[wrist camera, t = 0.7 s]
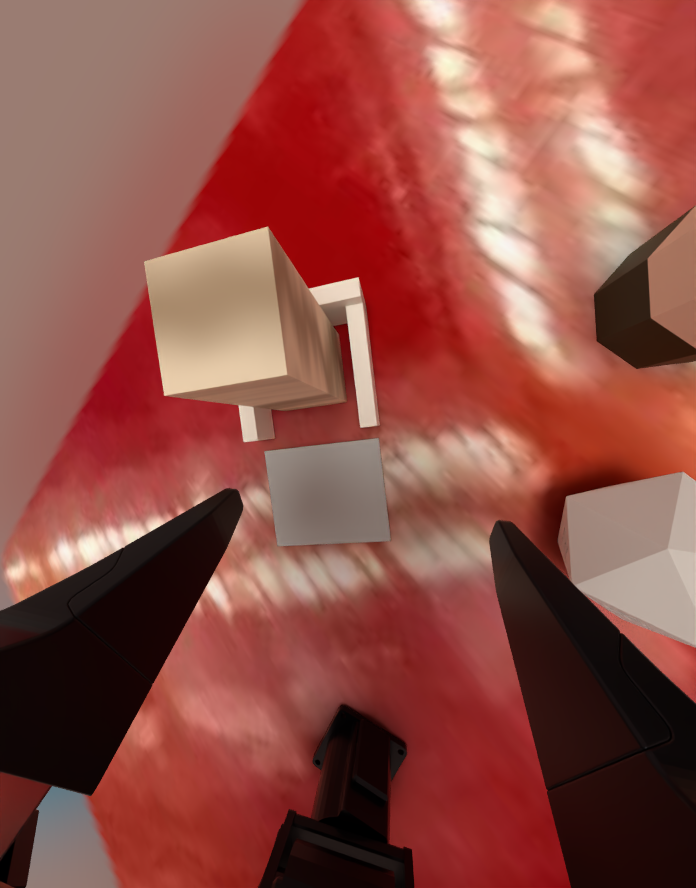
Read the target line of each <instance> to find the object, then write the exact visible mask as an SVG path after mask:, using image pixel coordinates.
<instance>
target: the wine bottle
mask: <svg viewBox="0 0 696 888" xmlns="http://www.w3.org/2000/svg"><path fill="white" fill-rule="evenodd" d="M594 300H595V316H596V332H597V341H598V342H599V343H601V344H602V345H604V346H605V347H606V348H608V349H609V350H611V351H612V352H614V353H615V354H616V355H618V356H619V357H621V358H622V359H624V360H625V361H626V362H628V363H629V364H631V365H632V366H634V367H635V368H645V367H653V366H661V365H669V364H677V363H685V362H693V361H696V206H694V207H693V208H692V209H690V210H689V211H688V212H686V213H685V214H684V215H682V216H681V217H680V218H678V219H677V220H676V221H674V222H673V223H671V224H670V225H669V226H667V227H666V228H665V229H663V230H662V231H661V232H659V233H658V234H657V235H655V236H654V237H653V238H651V239H650V240H648V241H647V242H646V243H644V244H643V245H642V246H640V247H639V248H638V249H636V250H635V251H634V252H632V253H631V254H630V255H629V256H628V257H627V258H626V259H625V260H624V262H623V263H622V264H621V265H620V266H619V267H618V268H617V269H616V271H615V272H614V273H613V274H612V275H611V276H610V277H609V278H608V280H607V281H606V282H605V283H604V284H603V285H602V286H601V287H600V289H599V290H598V291H597V292H596V293H595V294H594Z"/></svg>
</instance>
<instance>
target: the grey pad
mask: <svg viewBox="0 0 696 888" xmlns="http://www.w3.org/2000/svg"><path fill="white" fill-rule="evenodd" d="M264 452H265V459H266V466H267V474H268V481H269V488H270V495H271V503H272V510H273V517H274V525H275V532H276V539H277V546H294V545H316V544H338V543H360V542H382V541H391V537H390V528H389V520H388V511H387V503H386V494H385V486H384V478H383V469H382V461H381V452H380V444H379V438H374V439H366V440H357V441H349V442H340V443H331V444H323V445H314V446H306V447H297V448H288V449H280V450H271V451H264Z"/></svg>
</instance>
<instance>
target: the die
mask: <svg viewBox="0 0 696 888" xmlns="http://www.w3.org/2000/svg"><path fill="white" fill-rule="evenodd" d="M558 544H559V548H560V551H561V554H562V557H563V560H564V563H565V566H566V569H567V573H568V576H569V579H570V581H571V582H572V583H573V584H574V585H575V586H576V587H577V588H578V589H579V590H580V591H581V592H582V593H583V594H584V595H586V596H587V597H589V598H590V599H592V600H593V601H595V602H596V603H598V604H600V605H601V606H603V607H604V608H606V609H607V610H609V611H610V612H612V613H613V614H615V615H616V616H618V617H619V618H621V619H622V620H625V621H628V622H630V623H633V624H635V625H638V626H641V627H643V628H646V629H648V630H651V631H654V632H656V633H659V634H662V635H664V636H667V637H669V638H672V639H675V640H677V641H680V642H682V643H685V644H688V645H690V646H693V647H695V648H696V481H695V480H693V479H692V478H691V477H689V476H688V475H687V474H685V473H684V472H679V473H674V474H669V475H663V476H658V477H653V478H648V479H643V480H638V481H633V482H627V483H622V484H617V485H612V486H607V487H603V488H599V489H595V490H590V491H586V492H582V493H578V494H574V495H570V496H566V500H565V505H564V510H563V515H562V520H561V526H560V531H559V536H558Z"/></svg>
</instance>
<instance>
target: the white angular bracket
mask: <svg viewBox="0 0 696 888" xmlns="http://www.w3.org/2000/svg"><path fill="white" fill-rule="evenodd" d="M309 290H310V292H311V293H312V295H313V296H314V298H315V299H316V301H317V302H318V304H319V305H320V307H321V308H322V310H323V312H324V313H325V315H326V316H327V318H328V319H329V321H330V322H331V324H332V325H333V326H336V325H341V324H346V323H348V330H349V338H350V346H351V354H352V363H353V371H354V379H355V388H356V396H357V404H358V412H359V421H360V428H363V427H372V426H380V422H379V414H378V405H377V397H376V388H375V380H374V371H373V363H372V354H371V346H370V337H369V329H368V320H367V312H366V304H365V300H364V296H363V293H362V289H361V285H360V281H359V278H354V279H350V280H345V281H341V282H336V283H332V284H328V285H323V286H319V287H315V288H310V289H309ZM239 412H240V419H241V426H242V433H243V440H244V442H250V441H259V440H268V439H275V434H274V427H273V420H272V412H271V409H265V408H257V407H249V406H241V405H239Z"/></svg>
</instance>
